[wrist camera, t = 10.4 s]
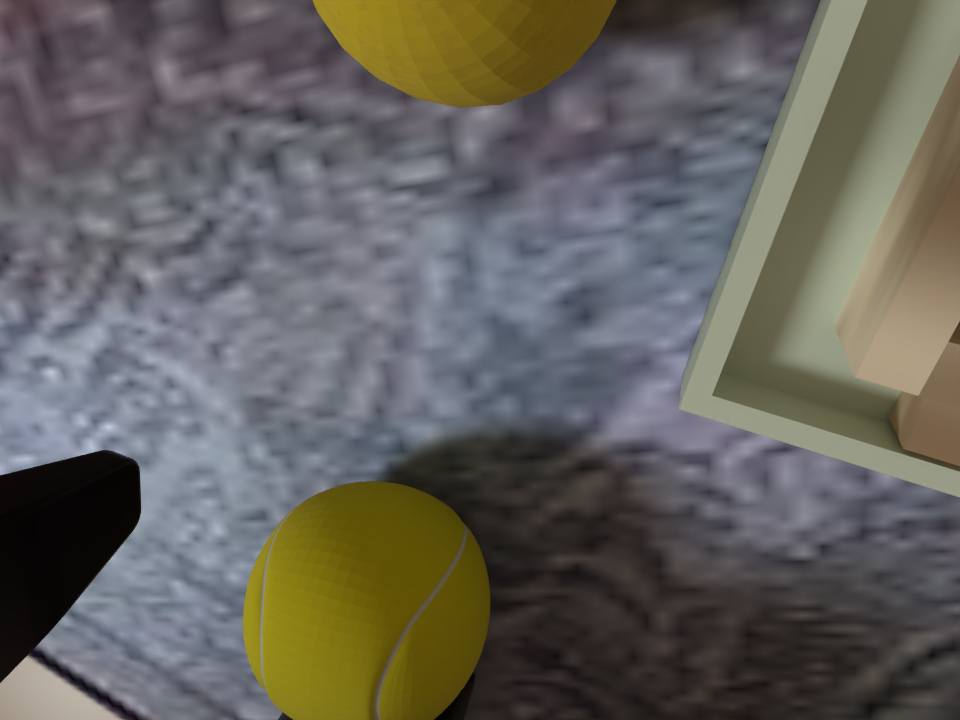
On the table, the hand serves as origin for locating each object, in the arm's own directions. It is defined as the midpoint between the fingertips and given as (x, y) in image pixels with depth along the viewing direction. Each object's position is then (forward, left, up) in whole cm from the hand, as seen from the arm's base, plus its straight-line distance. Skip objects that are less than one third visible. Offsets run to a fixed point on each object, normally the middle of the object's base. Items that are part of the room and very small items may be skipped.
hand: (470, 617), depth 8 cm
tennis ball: (-10, +4, -12) cm, 16 cm away
